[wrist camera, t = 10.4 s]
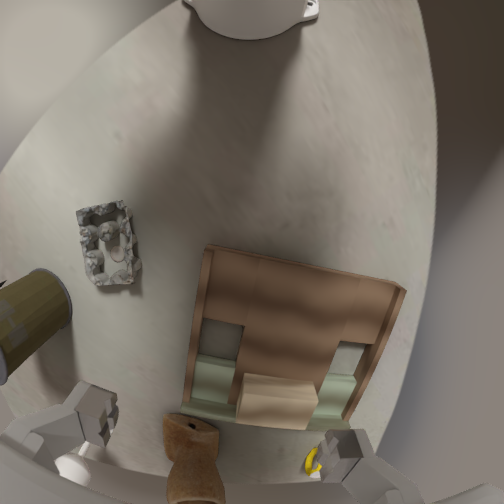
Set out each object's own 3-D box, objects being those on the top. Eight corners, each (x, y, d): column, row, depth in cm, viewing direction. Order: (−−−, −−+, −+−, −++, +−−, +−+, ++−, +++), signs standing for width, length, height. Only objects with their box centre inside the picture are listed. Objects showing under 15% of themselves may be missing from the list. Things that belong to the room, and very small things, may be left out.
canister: (83, 312, 39) (5, 386, 20) (50, 337, 40) (-18, 403, 21) (45, 253, 37) (-50, 299, 17) (16, 284, 38) (-64, 332, 19)
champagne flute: (112, 420, 44) (66, 516, 21) (113, 439, 46) (74, 528, 22) (81, 407, 44) (28, 495, 21) (84, 427, 45) (39, 510, 22)
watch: (312, 459, 47) (316, 482, 42) (300, 458, 47) (303, 481, 41) (326, 443, 46) (331, 467, 40) (313, 442, 45) (317, 467, 40)
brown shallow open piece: (208, 244, 37) (201, 253, 32) (395, 282, 38) (411, 294, 33) (185, 391, 42) (180, 412, 37) (341, 411, 44) (348, 431, 39)
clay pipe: (225, 465, 47) (220, 525, 32) (165, 455, 47) (150, 513, 32) (235, 418, 44) (231, 490, 29) (165, 406, 43) (142, 474, 28)
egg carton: (146, 277, 38) (135, 288, 34) (99, 280, 38) (86, 290, 34) (135, 197, 36) (122, 200, 32) (87, 204, 36) (71, 208, 32)
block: (244, 372, 39) (244, 392, 34) (312, 381, 39) (318, 401, 35) (236, 402, 40) (235, 422, 36) (300, 410, 41) (304, 430, 36)
